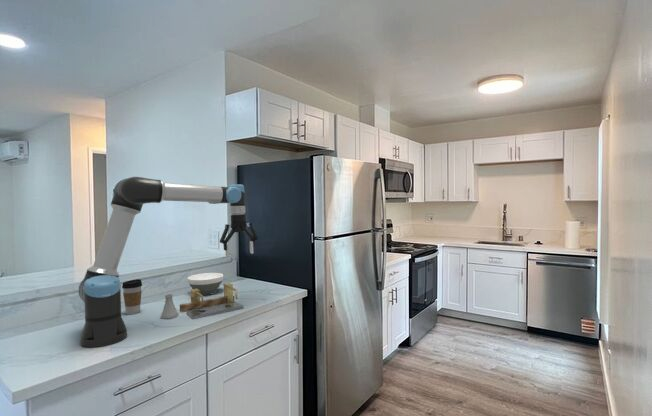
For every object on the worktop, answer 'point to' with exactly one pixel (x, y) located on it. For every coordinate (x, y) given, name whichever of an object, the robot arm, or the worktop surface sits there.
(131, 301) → the coffee cup
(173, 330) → the worktop surface
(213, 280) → the bowl
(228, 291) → the slider leg
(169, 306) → the flask
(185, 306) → the rail
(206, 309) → the hole plate
